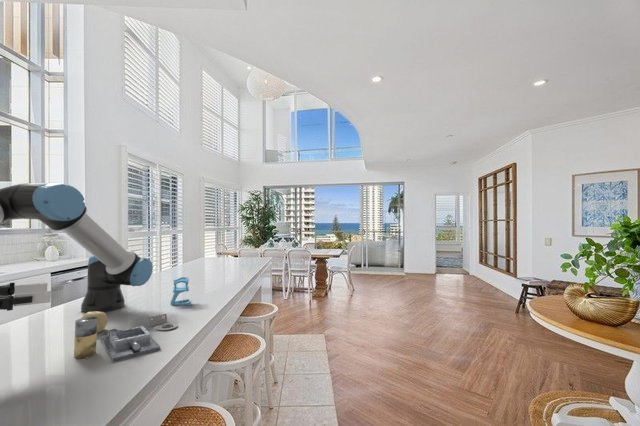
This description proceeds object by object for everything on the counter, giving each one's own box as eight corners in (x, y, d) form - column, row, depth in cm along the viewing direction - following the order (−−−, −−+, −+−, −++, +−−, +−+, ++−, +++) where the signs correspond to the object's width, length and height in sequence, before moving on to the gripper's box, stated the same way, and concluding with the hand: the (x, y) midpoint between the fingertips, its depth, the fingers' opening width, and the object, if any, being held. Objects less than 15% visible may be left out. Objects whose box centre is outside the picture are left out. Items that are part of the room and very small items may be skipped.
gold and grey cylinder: (73, 354, 86) (74, 319, 87) (94, 349, 90) (96, 315, 90) (74, 360, 83) (76, 324, 83) (97, 355, 86) (98, 320, 86)
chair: (170, 302, 140) (171, 276, 140) (190, 300, 143) (190, 275, 143) (170, 307, 133) (170, 280, 133) (190, 305, 136) (191, 278, 136)
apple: (69, 335, 98) (75, 311, 102) (92, 337, 105) (97, 315, 109) (89, 330, 97) (93, 306, 101) (111, 332, 104) (114, 310, 107)
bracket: (163, 333, 104) (163, 323, 104) (148, 327, 109) (148, 317, 110) (181, 328, 109) (181, 318, 110) (165, 322, 115) (166, 313, 115)
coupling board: (100, 339, 97) (101, 328, 97) (142, 330, 105) (143, 320, 105) (112, 362, 82) (113, 349, 83) (160, 349, 91) (160, 338, 91)
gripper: (-72, 309, 74) (44, 297, 89) (-100, 337, 57) (51, 317, 72) (-68, 278, 75) (46, 271, 90) (-95, 297, 57) (53, 285, 72)
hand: (49, 291), depth 81 cm, fingers open, 13 cm apart
